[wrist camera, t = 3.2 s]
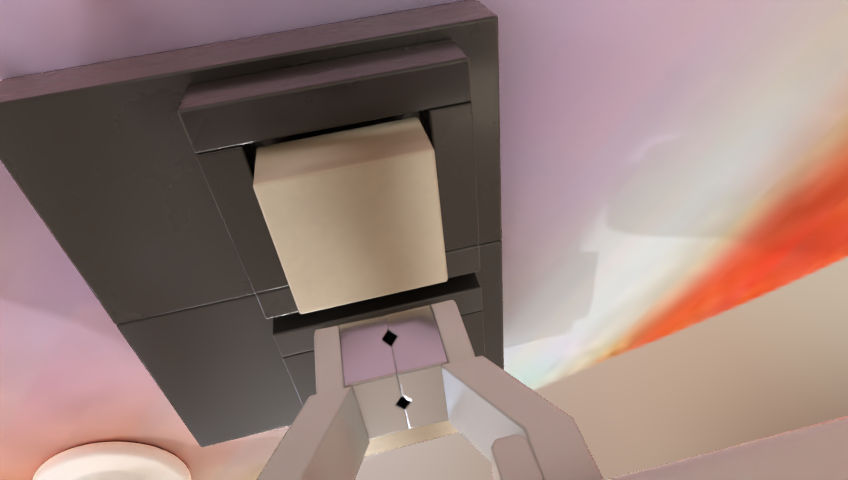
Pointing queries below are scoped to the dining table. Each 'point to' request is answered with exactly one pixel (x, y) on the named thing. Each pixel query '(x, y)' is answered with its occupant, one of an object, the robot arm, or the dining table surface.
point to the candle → (113, 463)
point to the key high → (353, 213)
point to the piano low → (284, 350)
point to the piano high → (244, 148)
